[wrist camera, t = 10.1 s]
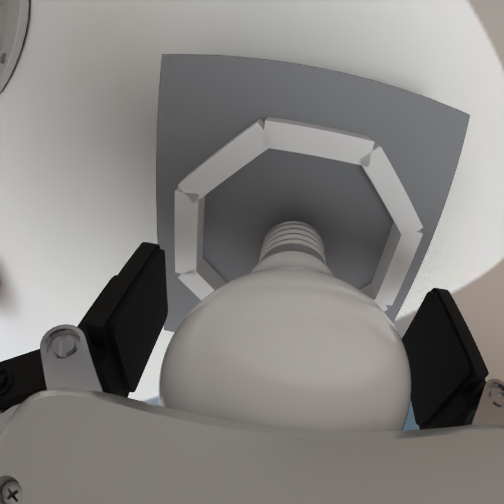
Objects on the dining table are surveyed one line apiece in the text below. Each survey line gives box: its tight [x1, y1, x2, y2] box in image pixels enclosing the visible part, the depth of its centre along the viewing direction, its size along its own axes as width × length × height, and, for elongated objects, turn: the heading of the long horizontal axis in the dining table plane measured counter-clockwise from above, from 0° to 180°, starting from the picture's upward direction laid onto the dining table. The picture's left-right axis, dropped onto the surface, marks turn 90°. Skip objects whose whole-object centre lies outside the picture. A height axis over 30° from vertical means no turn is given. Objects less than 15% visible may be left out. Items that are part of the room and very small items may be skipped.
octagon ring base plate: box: [156, 54, 470, 332], centre depth 16 cm, size 18×13×6 cm
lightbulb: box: [159, 221, 411, 432], centre depth 9 cm, size 6×6×11 cm
